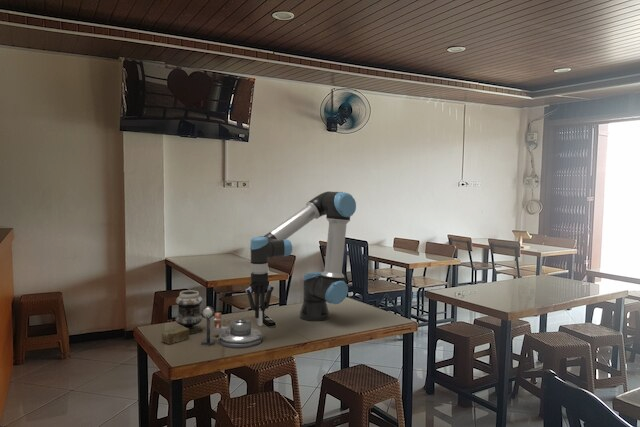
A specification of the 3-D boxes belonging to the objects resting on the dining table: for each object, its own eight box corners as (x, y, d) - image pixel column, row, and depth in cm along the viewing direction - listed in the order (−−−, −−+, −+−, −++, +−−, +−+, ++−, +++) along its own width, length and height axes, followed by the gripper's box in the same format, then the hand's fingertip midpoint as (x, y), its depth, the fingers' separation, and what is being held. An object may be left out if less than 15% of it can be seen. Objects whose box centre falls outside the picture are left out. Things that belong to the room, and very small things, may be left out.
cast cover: (237, 328, 218) (238, 315, 217) (254, 332, 214) (255, 318, 214) (225, 333, 210) (226, 320, 209) (243, 337, 206) (243, 323, 205)
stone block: (160, 342, 208) (160, 331, 207) (182, 336, 217) (182, 325, 217) (169, 345, 204) (169, 334, 204) (191, 338, 214) (191, 327, 213)
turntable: (227, 326, 225) (227, 308, 225) (268, 333, 216) (269, 314, 215) (202, 337, 209) (202, 317, 208) (246, 345, 200) (246, 325, 199)
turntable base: (265, 334, 221) (265, 330, 221) (258, 348, 202) (259, 345, 202) (223, 333, 221) (223, 329, 221) (213, 347, 202) (213, 344, 202)
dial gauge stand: (222, 341, 210) (222, 304, 209) (219, 345, 205) (219, 307, 204) (204, 340, 210) (204, 304, 209) (200, 344, 205) (200, 307, 204)
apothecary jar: (203, 333, 221) (204, 294, 219) (176, 335, 216) (176, 296, 215) (200, 325, 232) (200, 288, 231) (174, 328, 228) (174, 290, 226)
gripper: (269, 269, 220) (270, 320, 222) (242, 272, 214) (242, 324, 216) (276, 272, 214) (276, 325, 215) (248, 275, 207) (248, 329, 209)
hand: (259, 324), depth 216 cm, fingers closed
